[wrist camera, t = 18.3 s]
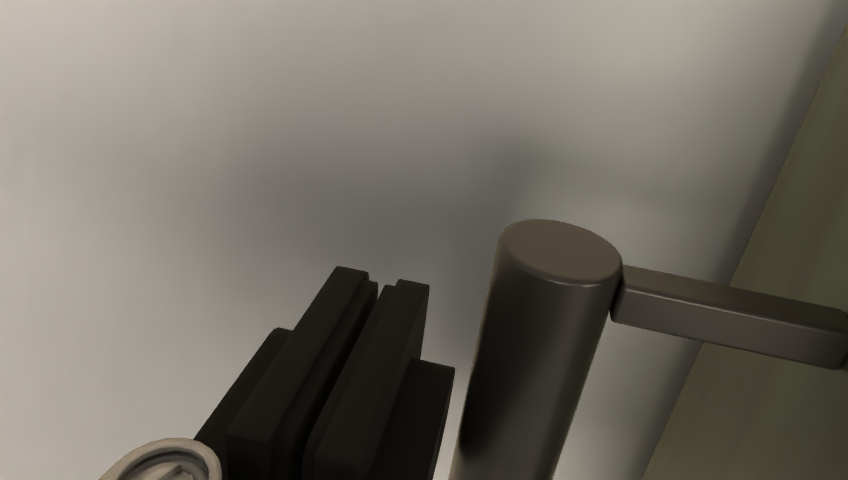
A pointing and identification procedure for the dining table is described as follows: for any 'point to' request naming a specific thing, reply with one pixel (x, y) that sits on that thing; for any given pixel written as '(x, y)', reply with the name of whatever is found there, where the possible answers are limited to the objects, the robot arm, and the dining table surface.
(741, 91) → the dining table surface
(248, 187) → the dining table surface
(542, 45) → the dining table surface
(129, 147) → the dining table surface
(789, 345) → the drawer
